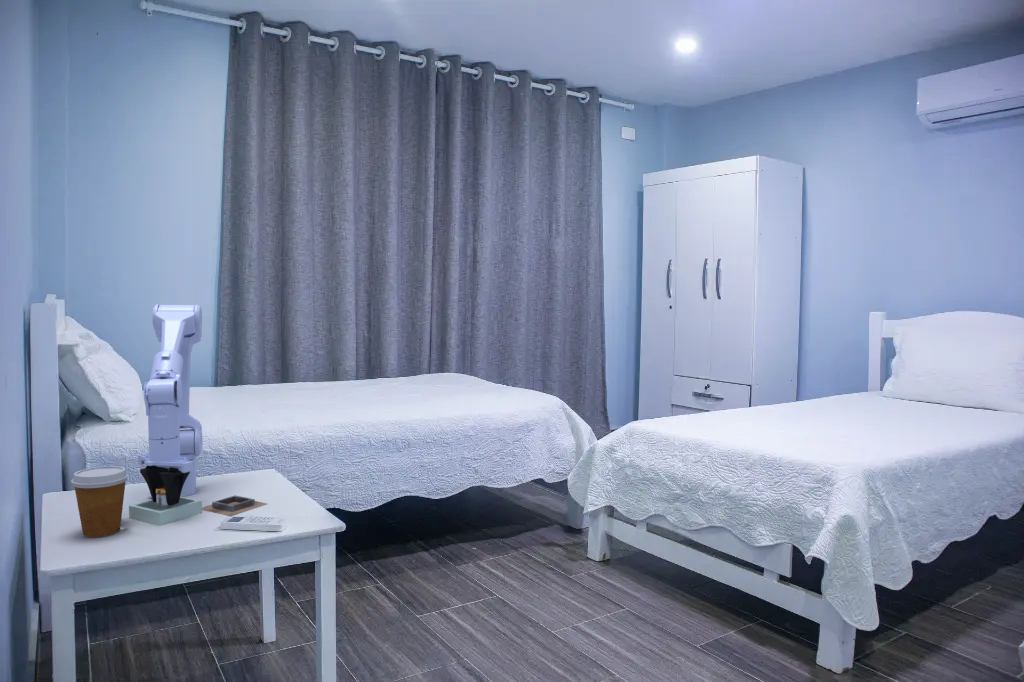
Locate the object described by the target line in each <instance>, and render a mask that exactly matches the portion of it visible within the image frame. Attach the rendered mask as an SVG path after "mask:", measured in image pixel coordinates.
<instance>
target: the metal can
mask: <svg viewBox="0 0 1024 682" xmlns="http://www.w3.org/2000/svg"><path fill="white" fill-rule="evenodd" d="M155 491H156V503H157V510H158V511H163V510H167V509H170V508H173V507H176V504H174V505H171V506H169V505H168V504H167V501H166V492H165V486H164V485H162V486H158V487H156V488H155Z"/></svg>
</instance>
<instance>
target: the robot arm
mask: <svg viewBox="0 0 1024 682" xmlns="http://www.w3.org/2000/svg"><path fill="white" fill-rule="evenodd" d="M151 316H152V317H151V318H152V328H153V330H154V332H155V336H156V338H157V340H158V343H160V351H159V352H157V353H156V354H154V357H153V359H152V360H153V361H152V366H151V371H150V377H149V381H145V382H144V385H143V386H144V387H143V400H144V405H145V414H146V417H147V422H148V423H147V425H148V427H147V428H148V453H147V452H146V453H143V454H138V455H137V465H141V466H142V465H144V466H145V467H144V468H140V469H139V473H140V474H141V476H142V477H143V479H144V480H145V482H146V485H147V487H148V489H149V494H148V498H150V499H151V500H153V502H156V491H155V488H156V487H158V486H162V485H164V486H165V492H166V501H167V504H168V505H169V506H171V505H174V504H178V503H179V499H180V496H182V497H189V496H192V495H194V494H196V493H197V469H196V468H197V465H196V464H197V460H196V459H197V457H199V456H200V455H201V454H202V452H203V433H202V432H203V431H202V428H203V427H202V424H201V422H200V421H199V420H198V419H197V418H195V417H193V416H192V415H190V393H191V392H190V387H191V384H190V383H191V355H192V351H193V347H194V345H196V344H198V343H200V342H201V338H202V333H203V332H202V331H203V311H202V307H201V306H200V304H159V303H156V304H155V305H154V306H153V308H152V315H151Z"/></svg>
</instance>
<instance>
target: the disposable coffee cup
mask: <svg viewBox="0 0 1024 682" xmlns="http://www.w3.org/2000/svg"><path fill="white" fill-rule="evenodd" d="M128 477H129V473H127V471H126V468H125V467H124V466H119V465H118V466H117V465H116V466H115V465H106V466H104V465H103V466H95V467H89V468H85V469H81V470H78V471H76V472H74V473H73V478H72V479H71V481H70V482H71V484H72V486H73V487H74V491H75V497H76V498H75V499H76V503H77V508H78V514H79V519H80V520H79V521H80V527H81V531H82V536H83V537H85V538H102V537H109V536H112V535H114V534H116V533H119V532H120V531H121V524H122V516H123V509H124V507H123V506H124V500H125V499H124V497H125V489H126V481H127V479H128Z"/></svg>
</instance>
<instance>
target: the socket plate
mask: <svg viewBox="0 0 1024 682" xmlns="http://www.w3.org/2000/svg"><path fill="white" fill-rule="evenodd" d="M211 503H212V504H210V505H207V506H204V507H203V506H202V511H205V512H210V513H214V514H218V515H223V516H227V517H233V516H236V515H240V514H243V513H244V512H248V511H251V510H254V509H258V508H261V507H262V506H263V507H264V506H266V505H268V503H267V502H262V501H256V500H255V499H254V498H250V497H246V496H241V495H232V496H231V495H230V496H229V497H228V496H227V497H226V498H221V499H219V500H216V501H212V502H211Z"/></svg>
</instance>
